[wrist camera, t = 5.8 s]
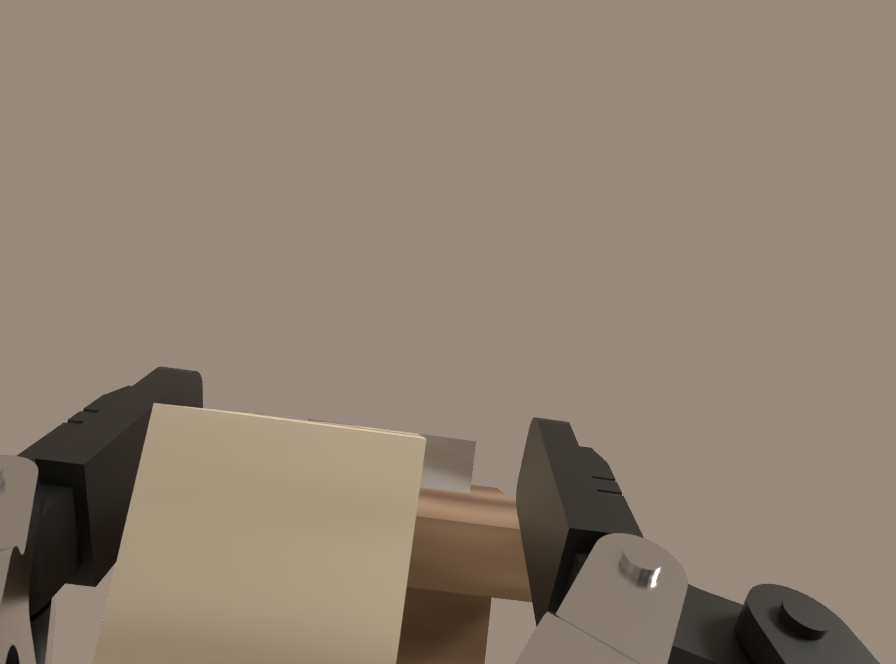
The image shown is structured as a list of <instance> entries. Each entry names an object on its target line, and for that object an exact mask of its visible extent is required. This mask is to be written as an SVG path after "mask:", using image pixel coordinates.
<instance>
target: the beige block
mask: <svg viewBox="0 0 896 664" xmlns="http://www.w3.org/2000/svg"><path fill="white" fill-rule="evenodd" d="M475 444H476V442H475V441H469V440H461V439H454V438H446V437H439V436H431V435H423V434H416V433H408V432H401V431H393V430H386V429H378V428H371V427H362V426H356V425H348V424H339V423H332V422H325V421H317V420H310V419H309V420H300V419H291V418H282V417H273V416H265V415H256V414H246V413H238V412H229V411H221V410H212V409H203V408H194V407H185V406H176V405H168V404H159V403H154V404H153V408H152V412H151V417H150V421H149V425H148V429H147V434H146V438H145V442H144V446H143V451H142V455H141V459H140V463H139V468H138V472H137V476H136V480H135V485H134V489H133V493H132V497H131V502H130V506H129V510H128V515H127V519H126V523H125V527H124V532H123V536H122V540H121V544H120V549H119V553H118V557H117V561H116V566H115V570H114V574H113V578H112V583H111V587H110V591H109V596H108V600H107V605H106V608H105V613H104V617H103V621H102V625H101V630H100V634H99V638H98V642H97V647H96V651H95V655H94V659H93V664H396V661H397V654H398V646H399V639H400V632H401V624H402V617H403V609H404V602H405V594H406V587H407V580H408V572H409V565H410V557H411V550H412V543H413V535H414V528H415V520H416V513H417V506H418V498H419V491H420V487H424V488H432V489H439V490H447V491H455V492H463V493H470V487H471V478H472V470H473V461H474V453H475Z"/></svg>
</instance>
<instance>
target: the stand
mask: <svg viewBox="0 0 896 664" xmlns="http://www.w3.org/2000/svg"><path fill="white" fill-rule="evenodd" d="M491 597H494V598H502V599H510V600H519V601H527V602H532V597H531V591H530V585H529V579H528V573H527V567H526V562H525V556H524V550H523V544H522V538H521V532H520V526H519V520H518V515H517V508H516V501H514V500H513V499H511V498H510V497H508V496H507V495H506V494H504V493H503V492H501V491H500V490H498V489H497V488H492V487H484V486H476V485H471V487H470V493H463V492H455V491H447V490H439V489H432V488H424V487H420V491H419V498H418V506H417V513H416V520H415V528H414V535H413V543H412V550H411V557H410V565H409V572H408V580H407V587H406V594H405V602H404V609H403V617H402V624H401V632H400V639H399V646H398V654H397V661H396V664H484V663H485V653H486V644H487V635H488V625H489V615H490V606H491Z"/></svg>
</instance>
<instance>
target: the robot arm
mask: <svg viewBox="0 0 896 664" xmlns="http://www.w3.org/2000/svg"><path fill="white" fill-rule="evenodd" d="M202 390H203V389H202V378H201V375H200V373H199V372H197V371H190V370H183V369H175V368H168V367H158V368H156V369H155V370H154V371H152V372H151V373H150V374H148V375H147V376H145V377H144V378H143V379H141V380H140V381H139V382H137V383H136V384H135V385H133V386H126V387H124V388H121V389H118V390H116V391H113V392H110V393H108V394H105V395H102V396H101V397H100V398H98V399H97V400H95V401H94V402H93V403H91V404H90V405H88V406H87V407H85V408H84V410H83V412H81V411H80V412H78V413H77V414H75V415H74V416H73V417H71V418H70V419H68V422H67V423H63V424H61V425H60V426H58V427H57V428H56V429H54V430H53V431H51V432H50V433H48V434H47V435H46V436H44V437H43V438H41V439H40V440H38V441H37V442H36V443H34V444H33V445H32V446H30V447H28V448H27V449H26V450H24V451H23V452H21V453H20V454H19V455H17V456H11V455H10V456H9V455H0V664H51V660H52V649H53V638H54V627H55V616H56V607H55V606H56V605H55V598H54V595H55V594H56V593H57V592H58V590H59V589H60V588H61V587H62V586H63V585H64V584H65V583H67V584H75V585H83V586H92V587H96V586H97V585H98V583H99V582H100V581H101V580H102V578H103V577H104V576H105V575H106V574H107V572H108V571H109V570H110V569H111V567H112V566H113V565H114V564H115V563H116V561H117V557H118V553H119V549H120V544H121V540H122V536H123V532H124V527H125V523H126V519H127V515H128V510H129V506H130V502H131V497H132V493H133V489H134V485H135V480H136V476H137V472H138V468H139V463H140V459H141V455H142V451H143V446H144V442H145V438H146V434H147V429H148V425H149V421H150V417H151V412H152V408H153V404H154V403H159V404H168V405H176V406H185V407H194V408H203V399H202V398H203V394H202V393H203V391H202ZM516 508H517V515H518V520H519V526H520V532H521V538H522V544H523V550H524V556H525V562H526V567H527V573H528V579H529V585H530V591H531V597H532V603H533V608H534V614H535V620H536V626H537V628H536V629H535V631H534V633H533V634H532V636H531V638H530V639H529V641H528V643H527V644H526V646H525V648H524V650H523V651H522V653H521V655H520V656H519V658H518V660H517V661H516V663H515V664H880V663H879V662H878V661H877V660H876V659H875V658H874V656H873V655H872V654H871V653H870V652H869V651H868V649H867V648H866V647H865V646H864V645H863V644H862V642H861V641H860V640H859V639H858V638H857V637H856V636H855V634H854V633H853V632H852V631H851V630H850V628H849V627H848V626H847V625H846V624H845V623H844V622H843V621H842V620H841V619H840V618H839V617H838V616H837V615H836V614H834V613H833V612H832V611H831V610H829V609H828V608H827V607H825V606H824V605H822V604H821V603H819V602H817V601H816V600H814V599H813V598H811V597H809V596H807V595H805V594H803V593H801V592H799V591H796V590H793V589H791V588H788V587H784V586H781V585H775V584H761V585H757V586H755V587H753V588H752V589H751V590H750V591H749V593H748V595H747V598H746V600H745V602H744V605H742V604H739V603H736V602H733V601H730V600H728V599H725V598H722V597H720V596H717V595H714V594H711V593H708V592H705V591H703V590H700V589H698V588H696V587H693V586H691V585H690V584H688V580H687V576H686V573H685V571H684V569H683V568H682V566H681V565H680V564H679V562H678V561H677V560H676V559H675V558H674V557H673V556H672V555H671V554H670V553H669V552H667V551H666V550H665V549H663V548H662V547H660V546H658V545H657V544H655V543H653V542H651V541H649V540H647V539H644V537H643V535H642V533H641V531H640V529H639V527H638V525H637V523H636V521H635V519H634V517H633V514H632V512H631V510H630V508H629V506H628V505H627V502H626V500H625V498H624V496H622V492H621V490H620V488H619V486H618V484H617V482H615V477H614V476H613V473H612V471H611V469H610V467H609V465H608V463H607V462H606V461H605V460H604V459H603V458H602V457H600V456H599V455H598V454H597V453H596V452H595V451H594V450H593V449H592V448H588V447H580V446H579V445H578V442H577V440H576V438H575V435H574V433H573V430H572V428H571V426H570V424H569V422H564V421H557V420H550V419H542V418H535V417H534V418H533V419H532V421H531V424H530V428H529V432H528V436H527V441H526V446H525V450H524V455H523V459H522V464H521V469H520V473H519V478H518V484H517V492H516Z"/></svg>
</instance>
